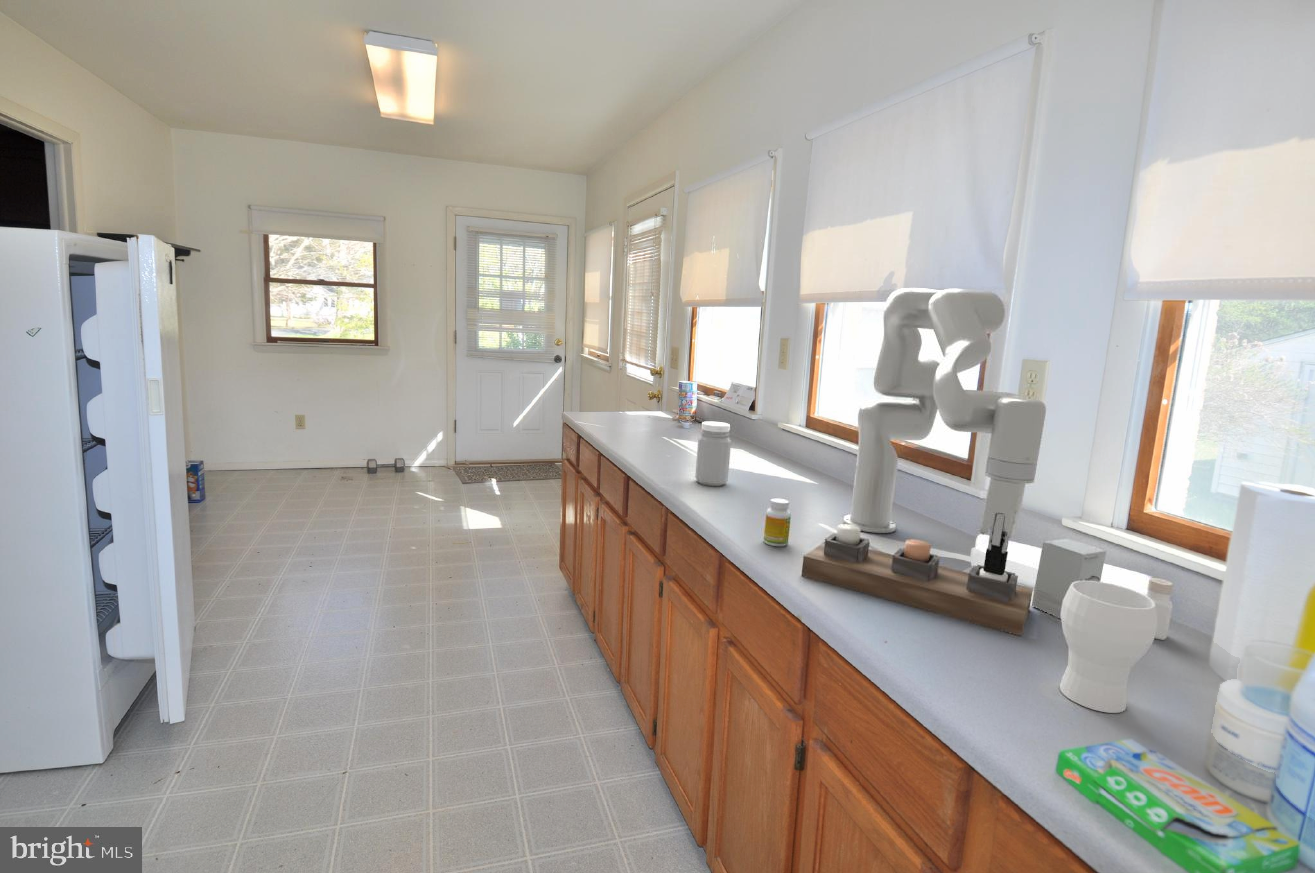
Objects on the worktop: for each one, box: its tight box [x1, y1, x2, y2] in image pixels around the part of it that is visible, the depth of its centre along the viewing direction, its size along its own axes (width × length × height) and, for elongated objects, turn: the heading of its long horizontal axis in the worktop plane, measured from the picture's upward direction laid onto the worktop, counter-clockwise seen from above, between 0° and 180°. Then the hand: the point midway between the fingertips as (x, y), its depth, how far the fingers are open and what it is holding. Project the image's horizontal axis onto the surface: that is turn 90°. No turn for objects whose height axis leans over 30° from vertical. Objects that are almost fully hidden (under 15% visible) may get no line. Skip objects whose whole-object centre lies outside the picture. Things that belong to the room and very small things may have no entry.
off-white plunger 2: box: [979, 568, 1008, 582], centre depth 118 cm, size 4×4×3 cm
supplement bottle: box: [763, 497, 792, 547], centre depth 148 cm, size 5×5×10 cm
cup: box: [1059, 581, 1157, 714], centre depth 91 cm, size 11×11×15 cm
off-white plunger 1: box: [836, 523, 862, 546], centre depth 131 cm, size 4×4×3 cm
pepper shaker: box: [1144, 577, 1174, 641], centre depth 113 cm, size 4×4×10 cm
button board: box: [800, 532, 1034, 637], centre depth 125 cm, size 14×38×7 cm, turn 57°
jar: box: [694, 420, 732, 487], centre depth 200 cm, size 10×10×18 cm
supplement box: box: [1031, 538, 1107, 620], centre depth 120 cm, size 7×7×13 cm
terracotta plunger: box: [904, 538, 932, 563], centre depth 124 cm, size 4×4×3 cm
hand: (993, 571), depth 118 cm, fingers closed
